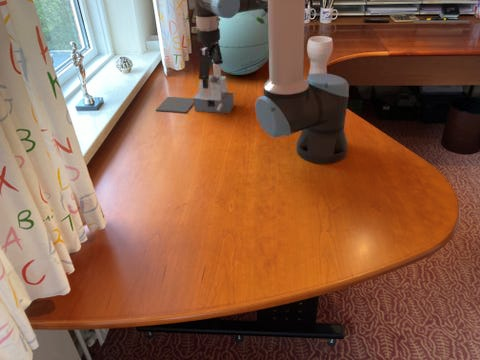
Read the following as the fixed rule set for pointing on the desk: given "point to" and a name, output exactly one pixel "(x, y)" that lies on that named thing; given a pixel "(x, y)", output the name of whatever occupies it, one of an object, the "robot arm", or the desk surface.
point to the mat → (176, 105)
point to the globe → (244, 42)
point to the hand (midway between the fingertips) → (212, 88)
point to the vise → (214, 102)
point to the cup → (319, 53)
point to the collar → (215, 89)
